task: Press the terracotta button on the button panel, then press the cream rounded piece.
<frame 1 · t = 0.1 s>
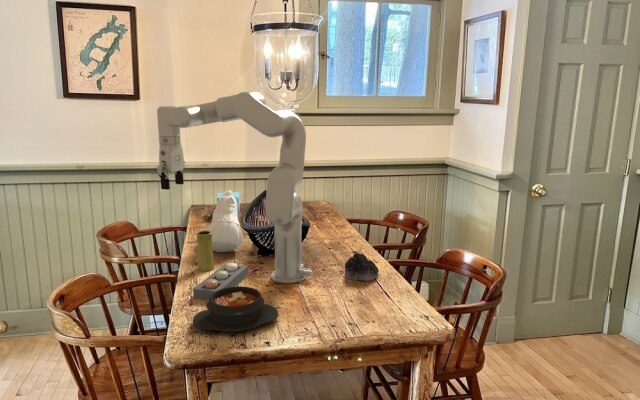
hand: (172, 186, 188), 31 cm above the table, fingers open, 9 cm apart
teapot: (229, 218, 264), on the table
button panel: (222, 286, 175), on the table
cream rounded piece: (231, 268, 182), point 4 cm above the table, slide at 0.0 cm
sage button: (222, 276, 175), point 4 cm above the table, slide at 0.0 cm
casserole: (236, 322, 150), on the table
crystal cluster: (360, 276, 186), on the table
vase: (206, 269, 192), on the table
terracotta button: (211, 285, 167), point 4 cm above the table, slide at 0.0 cm
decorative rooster: (223, 249, 215), on the table
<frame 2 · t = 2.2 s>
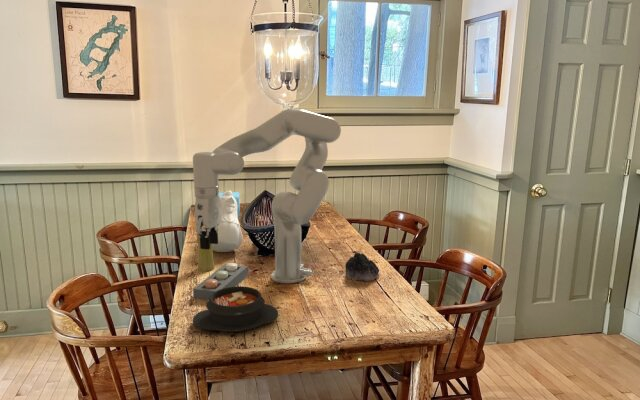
hand: (209, 245, 164), 17 cm above the table, fingers open, 4 cm apart
nothing on the table moved.
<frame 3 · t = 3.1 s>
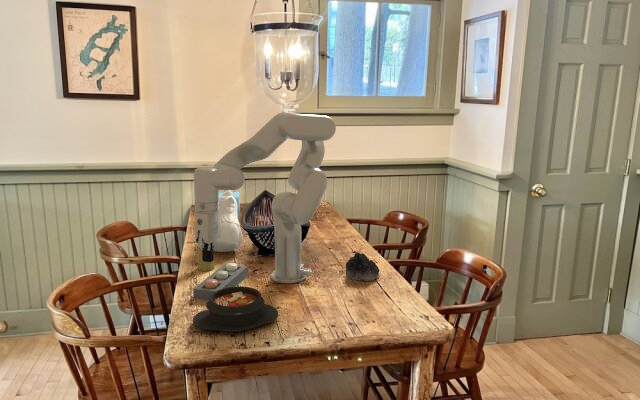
hand: (208, 260, 165), 12 cm above the table, fingers closed
nothing on the table moved.
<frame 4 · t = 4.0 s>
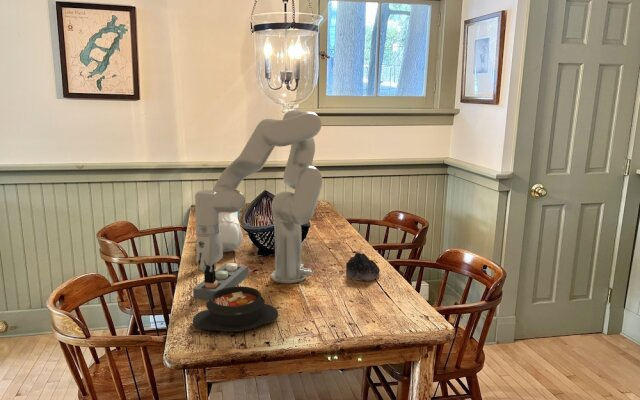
hand: (210, 281, 167), 5 cm above the table, fingers closed
terracotta button: (211, 285, 167), point 4 cm above the table, slide at 0.2 cm, touching gripper
everything else where it was.
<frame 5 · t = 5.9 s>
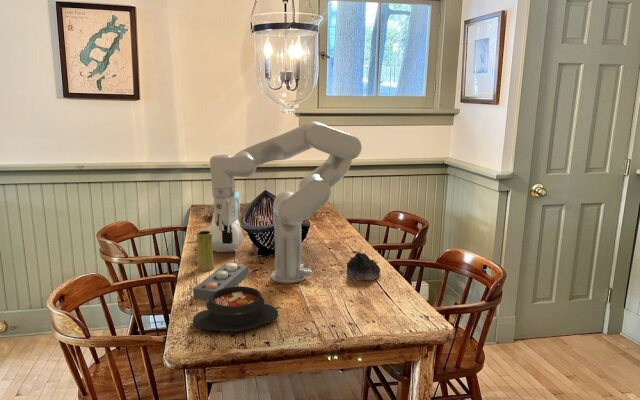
hand: (227, 242, 176), 15 cm above the table, fingers closed
terracotta button: (211, 287, 167), point 3 cm above the table, slide at 1.0 cm
everything else where it was.
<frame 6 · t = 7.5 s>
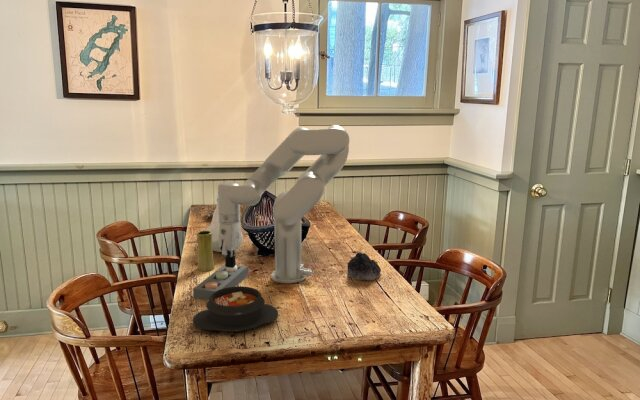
hand: (230, 266, 182), 4 cm above the table, fingers closed
cream rounded piece: (231, 270, 182), point 3 cm above the table, slide at 0.7 cm
everything else where it was.
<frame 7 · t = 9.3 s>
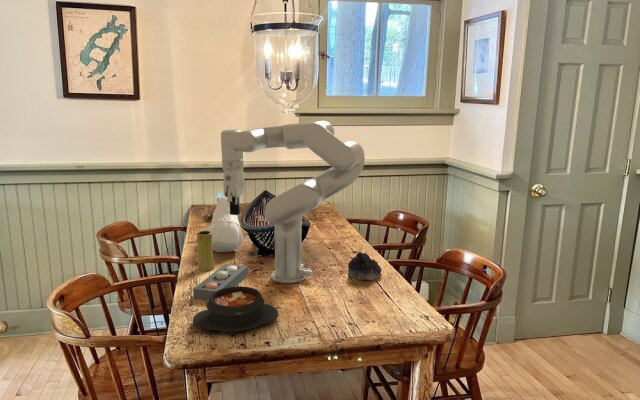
hand: (235, 214, 184), 22 cm above the table, fingers closed
cream rounded piece: (231, 270, 182), point 3 cm above the table, slide at 1.0 cm
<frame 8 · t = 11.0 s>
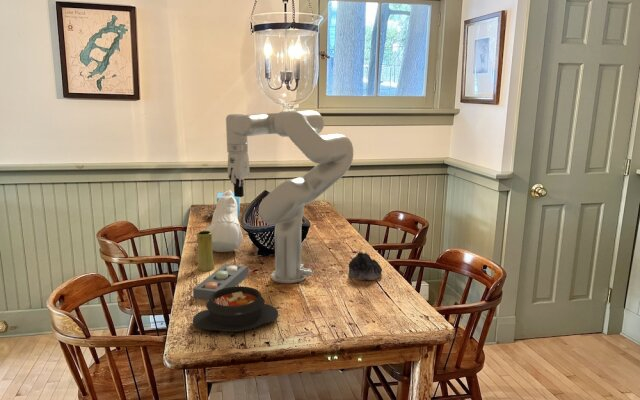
hand: (239, 196, 191), 27 cm above the table, fingers closed
at the end: terracotta button slide at 1.0 cm; cream rounded piece slide at 1.0 cm; sage button slide at 0.0 cm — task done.
